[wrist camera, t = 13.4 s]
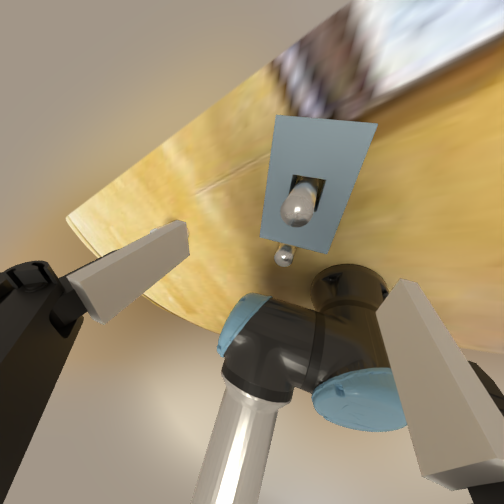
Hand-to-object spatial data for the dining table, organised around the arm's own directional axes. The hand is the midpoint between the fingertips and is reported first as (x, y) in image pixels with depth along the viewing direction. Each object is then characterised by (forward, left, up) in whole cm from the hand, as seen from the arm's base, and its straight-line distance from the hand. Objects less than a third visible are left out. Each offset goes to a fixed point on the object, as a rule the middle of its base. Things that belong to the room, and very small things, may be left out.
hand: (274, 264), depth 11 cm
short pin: (-13, +1, -26) cm, 29 cm away
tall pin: (0, 0, -26) cm, 26 cm away
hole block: (0, 0, -26) cm, 26 cm away
